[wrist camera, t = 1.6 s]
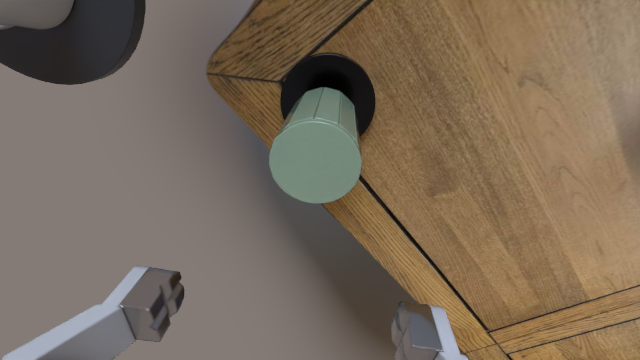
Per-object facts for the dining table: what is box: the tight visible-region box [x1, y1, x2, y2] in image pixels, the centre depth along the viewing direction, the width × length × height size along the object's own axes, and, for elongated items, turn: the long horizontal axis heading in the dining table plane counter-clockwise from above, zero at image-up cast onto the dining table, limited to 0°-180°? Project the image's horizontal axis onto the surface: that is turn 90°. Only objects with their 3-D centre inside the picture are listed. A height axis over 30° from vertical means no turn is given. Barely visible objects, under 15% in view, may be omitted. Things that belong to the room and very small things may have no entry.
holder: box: [281, 52, 375, 137], centre depth 26 cm, size 11×11×16 cm
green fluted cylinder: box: [269, 87, 362, 204], centre depth 23 cm, size 6×6×10 cm
